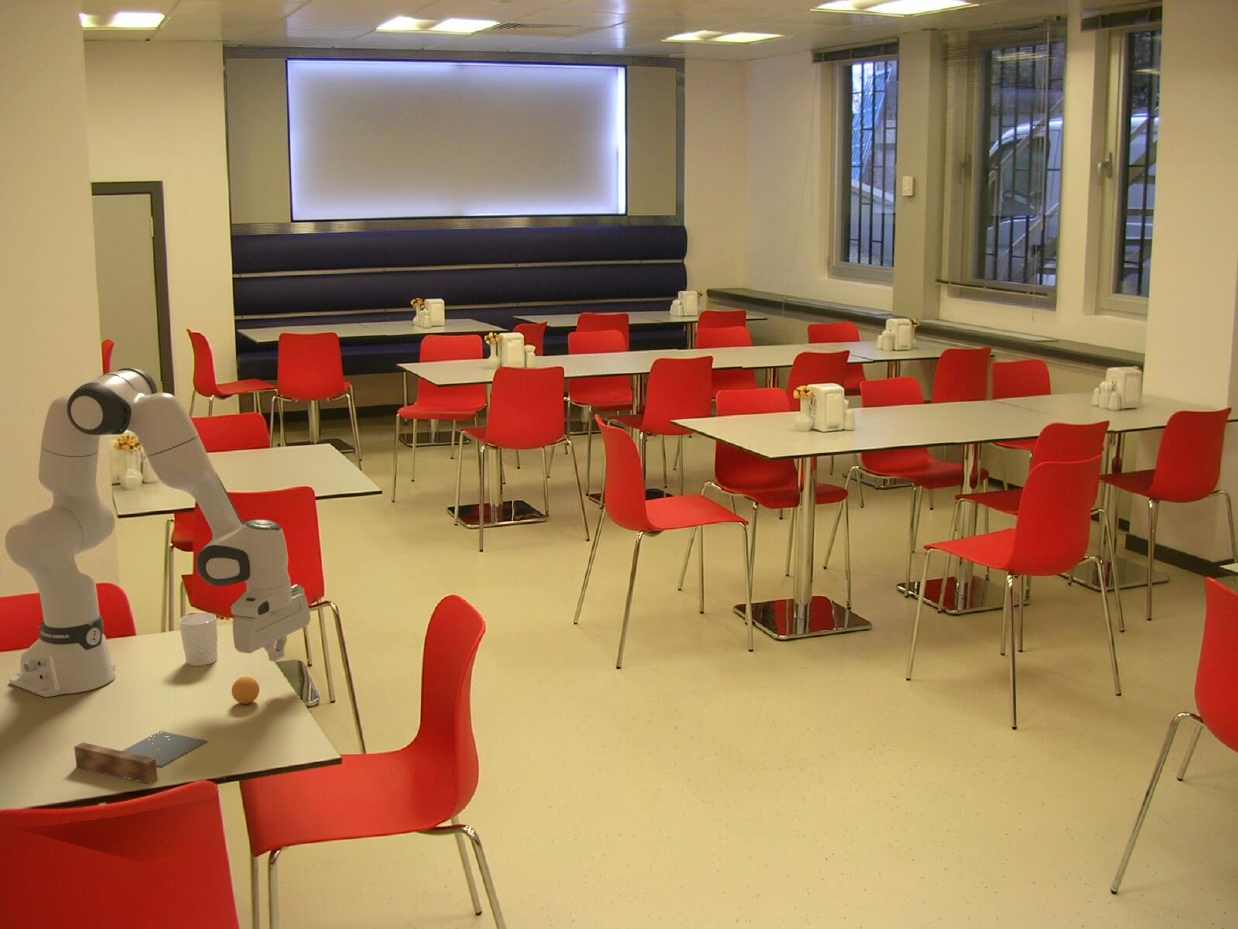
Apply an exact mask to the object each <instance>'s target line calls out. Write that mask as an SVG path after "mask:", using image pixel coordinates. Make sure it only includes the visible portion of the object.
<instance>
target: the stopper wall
mask: <svg viewBox="0 0 1238 929" xmlns="http://www.w3.org/2000/svg"><path fill="white" fill-rule="evenodd" d="M73 749H74V750H73V751H74V756H75V757H74V758H75V765H76V767H77V768H80V769H84V770H89V771H93V772H98V773H101V774H105V773H107V774H106V775H109V774H111V775H110V776H114V775H115V776H114V777H118V776H119V778H122V777H126V778H130V779H132V780H131V781H135V780H139V781H142V782H141V783H143V782H145V783H144V784H147V783H149V784H152V783H154V782H155V781H157V780H158V770H157V766H156V761H155V759H154V758H149V757H145V756H140V755H136V754H132V753H127V752H123V750H119V749H118V750H117V749H113V748H109V747H104V746H101V745H96V744H91V743H86V742H81V743H79V744H76V745H75V746H74V747H73ZM126 778H125V779H126ZM130 779H129V780H130ZM154 780H155V781H154ZM139 781H138V782H139ZM153 781H154V782H153ZM151 782H152V783H151ZM149 784H148V785H149Z"/></svg>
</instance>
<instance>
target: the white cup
mask: <svg viewBox="0 0 1238 929" xmlns="http://www.w3.org/2000/svg"><path fill="white" fill-rule="evenodd" d="M178 622H179V630H180V636H181V642H182V647H183V651H184V657H185V662H186V664H187V665H188V666H194V667H195V666H196V667H202V666H207V664H208V665H210V664H213V663H215V662H216V661H218V626H217V615H216V614H214V613H210V612H197V613H191V614H188V615H184V616H182V617H180V618H179V621H178Z"/></svg>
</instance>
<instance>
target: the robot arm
mask: <svg viewBox="0 0 1238 929" xmlns="http://www.w3.org/2000/svg"><path fill="white" fill-rule="evenodd" d="M45 417H46V418H45V421H44V425H43V430H42V436H41V442H40V451H39V452H40V455H39V464H38V481H39V482H40V484H41V486H43V487H44V488H45V489H46V490H48V491H49V492H50V493H52V500H53V502H52V505H51V507H50V508H48V509H46V510H43V511H40V512H37V513H33V514H31V515H28V516H26V517H24V518H23V519H21V520H20V521H18V522H16V523H15V524H13V525H12V526H11V527H10V528H9V529H8V530H7V532H6V534H5V539H4V540H5V541H4V546H5V550H6V553H7V555H8V557H9V558H10V560H11V561H12V562H13V563H14V564H15V565H16V566H18V567H20V568H23V569H24V570H26V571H27V572H28V573H29V574H30V576H31V577H32V578H33V581H34V582H35V584H36V587H37V590H38V593H39V596H40V604H41V610H42V616H43V617H42V618H43V622H41V623H38V624H35V627H37V628H36V629H35V630H36V631H38V630H40V635H39V638H38V639H37V640H36V641H35V642H34V643H32V645H30V646H29V647H28V648H27V649H26V650H25V651H24V652H23V653H22V654H21V657H20V671H18V672H17V673H15V674H13V675H12V676H11V677H10V678H9V683H10V684H11V685H13V686H16V687H18V688H21V689H23V690H26V691H29V692H30V693H33V694H35V695H39V696H41V697H43V698H49V697H54V696H60V695H67V694H76V693H82V692H88V691H91V690H96V689H98V688H100V687H101V688H102V687H103V686H105V685H108V683H111V682H112V681H113V680H114V679H115V677H116V674H115V671H114V670H115V668H116V665H115V662H112V659H111V655H110V650H109V646H108V641H107V638H106V636H105V634H104V620H103V616H102V614H101V613H100V608H99V607H100V606H99V600H98V592H97V585H96V582H95V580H94V579H93V578H92V577H91V576H89V575H88V574H85V573H83V572H80V570H79V568H78V566H77V563H76V555H79V554H81V553H84V552H86V551H88V550H92V549H94V548H96V547H97V546H99V545H100V544H102V543H104V541H106V540H107V539H108V538H109V537H110V536H112V534H113V533H114V529H115V518H114V514H113V511H112V509H111V508H110V507H109V505H108V504H107V503H105V502H104V501H102V500H101V498H100V495H99V493H98V488H97V487H98V486H97V473H98V471H97V470H98V459H99V458H98V457H99V448H100V441H101V440H100V437H101V436H110V435H116V436H117V435H124V433H125V432H126V431H129V432H131V433H132V434H134V435H135V436H136V437H137V438H138V440H139V443H140V444H141V447H142V449H143V451H144V454H145V456H146V459H147V460H148V463H149V466H150V467H151V469H152V470H153V472H154V474H155V475H156V477H157V478H158V480H159V481H160V483H161V484H163V485H165V486H167V487H169V488H171V489H176V490H180V491H184V492H186V493H188V494H189V495H191V496H192V498H193V499H194V500H195V501H196V503H197V505H198V506H199V507H198V508H200V510H201V512H202V514H203V515H204V518H205V520H206V521H207V523H208V525H209V527H210V529H211V532H212V540H211V541H210V542H208V543H207V544H206V545H205V546H204V547H203V548H202V550H200V552H199V553H198V555H197V558H196V570H197V572H198V574H199V576H200V577H201V579H202V580H203V581H204V582H205V583H207V584H209V585H211V586H212V587H218V588H219V587H227V586H233V585H237V584H240V583H243V582H244V583H246V590H245V591H244V592H243V594H242V595H241V596H240V597H238V599H236V601H235V602H233V604H232V605H231V606H230V612H231V614H232V615H233V616H234V618H233V621H232V635H233V644H234V645H233V646H234V648H235V650H236V651H237V652H238V653H243V654H252V653H254V652H255V651H258V650H260V649H261V648H263V649H264V650H265V651H266V652H267V654H268V655H267V656H268V660H269V661H270V662H275V661H278V660H280V659H282V658H284V657H285V647H286V644H287V640H288V638H287V636H288V635H291V634H292V633H295V632H297V631H298V630H301V629H303V628H305V627H307V626H308V625H310V622H311V612H310V608H309V602H308V600H307V599H308V598H307V596H306V595H305V588H304V587H303V586H302V585H299V584H294V585H292V583H291V577H290V575H289V572H288V564H289V555H288V548H287V543H286V542H287V541H286V537H285V533H284V531H283V528H282V527H281V526H280V524H279V523H276V522H275V521H273V520H269V519H252V520H251V519H250V520H249V521H246V522H245V521H243V519H242V517H241V516H240V515H239V513H238V510H237V509H236V507H235V505H234V503H233V501H232V499H231V497H230V495H229V494H228V492H227V490H226V488H225V486H224V484H223V482H222V480H221V479H220V477H219V475H218V473H217V471H216V469H215V468H214V466H213V464H212V462H211V460H210V458H209V456H208V455H209V454H208V453H207V451H206V449H205V446H204V443H203V442H202V440H201V437H200V435H199V432H198V429H197V428H196V426H195V425H194V423H193V420H192V419H191V417H190V414H188V412H187V411H186V409H185V407H184V406H183V405H182V403H181V401H180V400H179V399H178V398H177V397H176V396H175V395H173V394H172V393H168V392H158V388H157V385H156V382H155V381H154V379H153V378H152V376H151V375H149V373H147V372H146V371H144V370H141V369H138V368H134V367H128V368H126V367H125V368H120V369H117V370H116V371H111V372H108V373H105V374H101V375H99V376H98V377H96V378H95V379H93V380H91V381H90V382H87V383H83V384H82V385H80V386H79V387H77V388H76V389H75V390H74V391H73V392H72V393H71V394H65V395H64V394H63V395H61V396H60V395H59V396H58V397H57V398H55V399H54V400H53V401H52V402H51V403H50V405H49V407H48V410H47V414H46V416H45Z"/></svg>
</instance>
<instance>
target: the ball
mask: <svg viewBox="0 0 1238 929" xmlns="http://www.w3.org/2000/svg"><path fill="white" fill-rule="evenodd" d="M231 694H232V695H231V696H232V697H233V699H234V700H235V701H236V702H237V703H239V704H245V705H246V704H251V703H253V702H254V701H256V699H257V698H258V696H259V694H260V685H259V683H258V682H257V681H256V679H255V678H253V677H251V676H242V677H238V679H236V680H235V681H234V682H233V684H232V687H231Z"/></svg>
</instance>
